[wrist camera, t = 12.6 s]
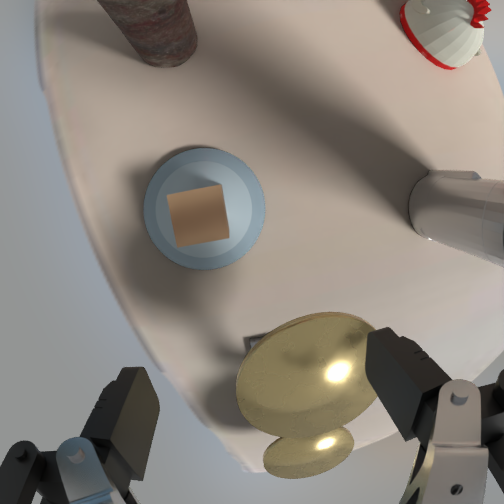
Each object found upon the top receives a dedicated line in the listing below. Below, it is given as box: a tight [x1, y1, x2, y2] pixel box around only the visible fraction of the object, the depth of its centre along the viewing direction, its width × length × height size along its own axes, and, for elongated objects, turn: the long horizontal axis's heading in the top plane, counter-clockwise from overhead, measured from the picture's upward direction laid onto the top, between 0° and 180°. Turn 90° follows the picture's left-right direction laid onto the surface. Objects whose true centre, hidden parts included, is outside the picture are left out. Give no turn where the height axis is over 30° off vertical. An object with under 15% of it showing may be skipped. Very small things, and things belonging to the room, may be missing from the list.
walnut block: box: [167, 184, 230, 248], centre depth 28 cm, size 5×5×6 cm
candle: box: [97, 0, 197, 67], centre depth 17 cm, size 8×7×20 cm
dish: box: [144, 148, 265, 270], centre depth 32 cm, size 14×14×1 cm
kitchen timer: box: [400, 0, 491, 70], centre depth 21 cm, size 14×14×15 cm
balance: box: [236, 312, 377, 479], centre depth 31 cm, size 33×13×16 cm, turn 10°
